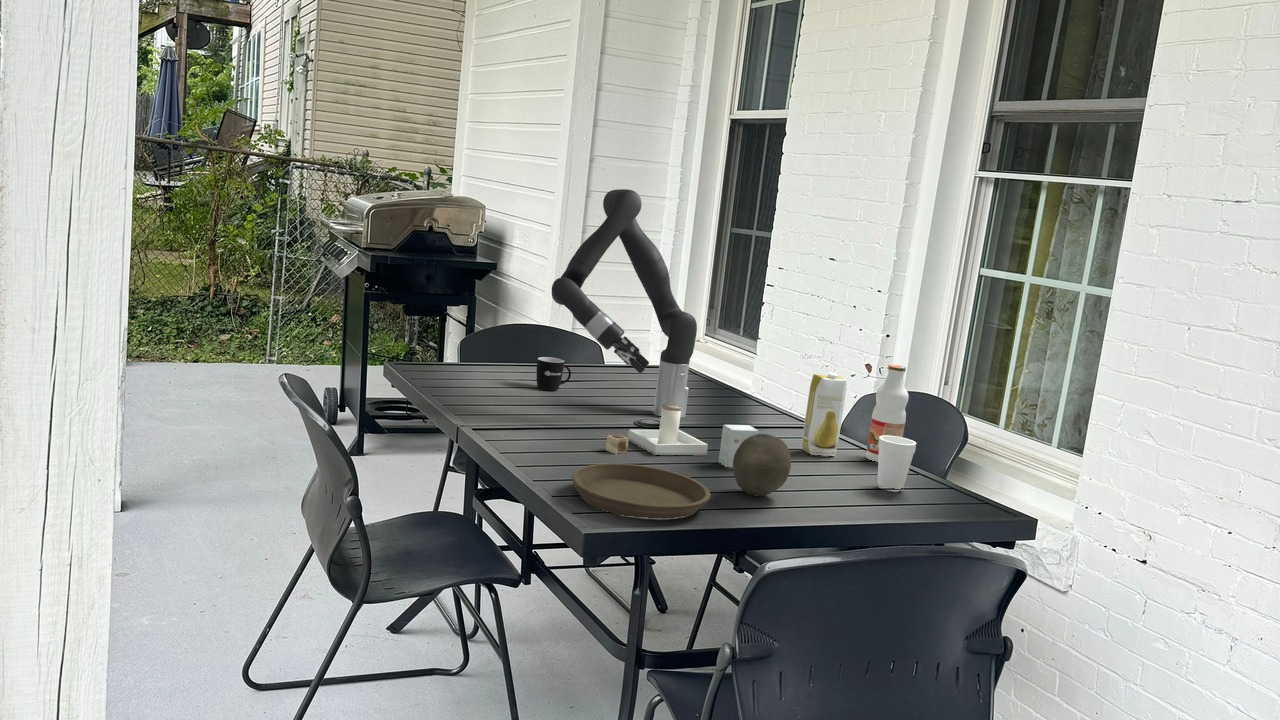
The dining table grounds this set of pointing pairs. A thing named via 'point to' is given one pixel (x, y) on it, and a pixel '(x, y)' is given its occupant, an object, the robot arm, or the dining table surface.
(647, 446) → the tray
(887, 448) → the foam cup
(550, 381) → the mug
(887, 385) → the fruit juice
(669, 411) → the canister
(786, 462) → the cantaloupe
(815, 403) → the juice carton
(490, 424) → the dining table surface
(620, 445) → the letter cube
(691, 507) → the plant saucer
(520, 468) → the dining table surface
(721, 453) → the small box
